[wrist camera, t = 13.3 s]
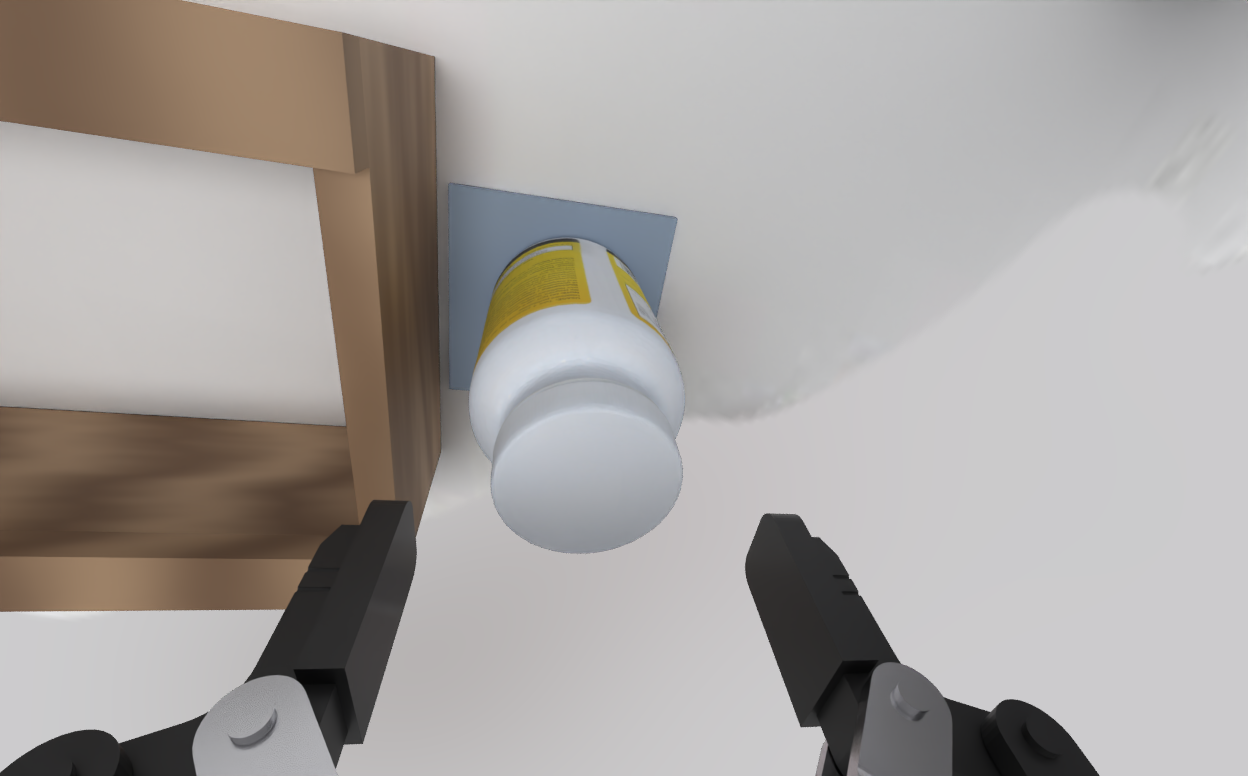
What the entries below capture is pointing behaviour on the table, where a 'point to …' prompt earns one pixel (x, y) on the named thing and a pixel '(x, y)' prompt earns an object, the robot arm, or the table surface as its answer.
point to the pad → (512, 222)
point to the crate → (358, 288)
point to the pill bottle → (577, 400)
